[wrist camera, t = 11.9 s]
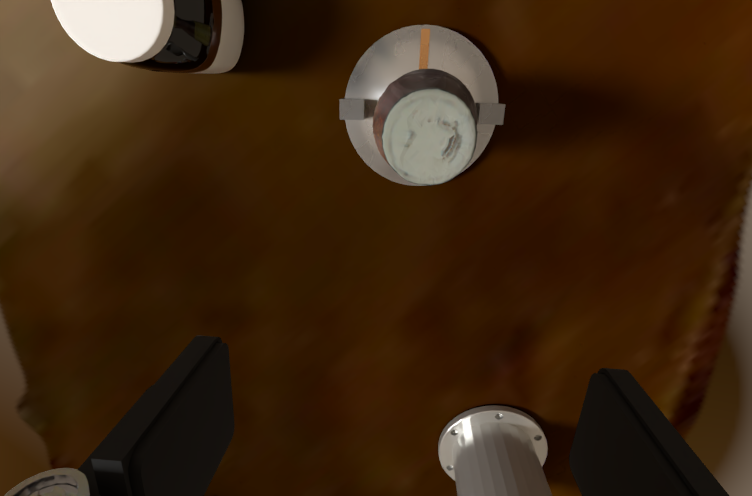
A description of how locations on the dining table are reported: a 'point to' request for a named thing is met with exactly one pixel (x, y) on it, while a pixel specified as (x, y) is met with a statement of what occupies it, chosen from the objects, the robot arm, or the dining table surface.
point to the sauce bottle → (426, 126)
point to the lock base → (409, 54)
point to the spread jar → (158, 32)
